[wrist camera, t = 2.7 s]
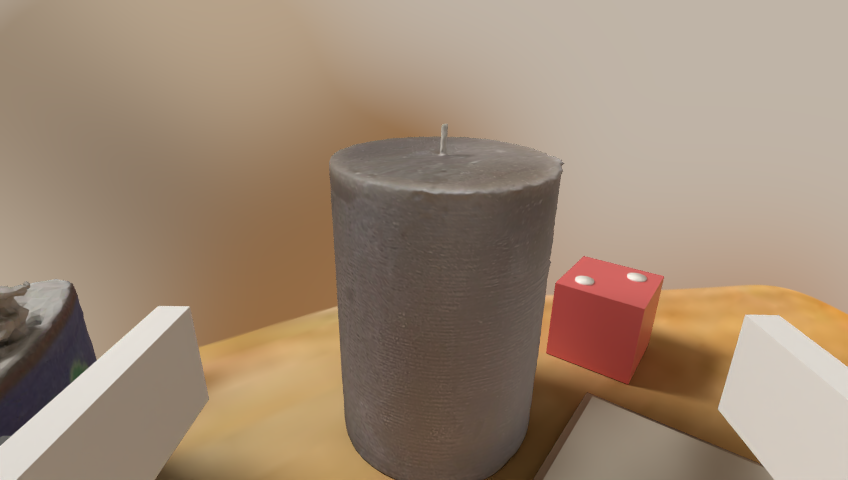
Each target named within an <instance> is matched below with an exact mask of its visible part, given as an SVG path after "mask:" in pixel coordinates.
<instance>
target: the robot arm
mask: <svg viewBox="0 0 848 480" xmlns="http://www.w3.org/2000/svg"><path fill="white" fill-rule="evenodd" d="M208 400H209V396H208V391H207V387H206V382H205V377H204V372H203V367H202V363H201V358H200V353H199V348H198V344H197V339H196V334H195V329H194V324H193V319H192V315H191V310H190V307H188V306H158V307H157V308H156V309H155V310H153V311H152V312H151V313H150V314H149V315H148V316H147V317H145V318H144V319H143V320H142V321H141V322H140V323H139V324H138V325H137V326H135V327H134V328H133V329H132V330H131V331H130V332H129V333H127V334H126V335H125V336H124V337H123V338H122V339H121V340H119V341H118V342H117V343H116V344H115V345H114V346H113V347H112V348H110V349H109V350H108V351H107V352H106V353H105V354H104V355H102V356H101V357H100V358H99V359H98V360H97V361H96V362H95V363H93V364H92V365H91V366H90V367H89V368H88V369H87V370H86V371H84V372H83V373H82V374H81V375H80V376H79V377H78V378H76V379H75V380H74V381H73V382H72V383H71V384H70V385H69V386H67V387H66V388H65V389H64V390H63V391H62V392H61V393H60V394H58V395H57V396H56V397H55V398H54V399H53V400H52V401H50V402H49V403H48V404H47V405H46V406H45V407H44V408H43V409H41V410H40V411H39V412H38V413H37V414H36V415H35V416H34V417H32V418H31V419H30V420H29V421H28V422H27V423H26V424H24V425H23V426H22V427H21V428H20V429H19V430H18V431H17V432H15V433H14V434H13V435H12V436H2V437H0V480H155V479H156V477H157V476H158V474H159V473H160V471H161V470H162V468H163V467H164V465H165V464H166V462H167V461H168V459H169V458H170V456H171V455H172V453H173V452H174V450H175V449H176V447H177V446H178V444H179V443H180V442H181V440H182V439H183V437H184V436H185V434H186V433H187V431H188V430H189V428H190V427H191V425H192V424H193V422H194V421H195V419H196V418H197V416H198V415H199V413H200V412H201V410H202V409H203V407H204V406H205V404H206V403H207V401H208ZM718 410H719V411H720V412H721V414H722V415H723V416H724V417H725V419H726V420H727V421H728V422H729V424H730V425H731V426H732V427H733V429H734V430H735V431H736V432H737V434H738V435H739V436H740V437H741V439H742V440H743V441H744V442H745V444H746V445H747V446H748V447H749V449H750V450H751V451H752V452H753V454H754V455H755V456H756V457H757V459H758V460H759V461H760V462H761V464H762V465H763V466H764V467H765V469H766V470H767V471H768V472H769V474H770V475H771V476H772V477H773V479H774V480H848V367H847V366H846V365H844V364H843V363H842V362H840V361H839V360H838V359H836V358H835V357H834V356H832V355H831V354H830V353H828V352H827V351H826V350H824V349H823V348H822V347H820V346H819V345H818V344H816V343H815V342H814V341H812V340H811V339H810V338H808V337H807V336H806V335H804V334H803V333H802V332H800V331H799V330H798V329H796V328H795V327H794V326H792V325H791V324H790V323H788V322H787V321H786V320H784V319H783V318H782V317H780V316H779V315H745V318H744V321H743V325H742V328H741V331H740V335H739V338H738V342H737V345H736V349H735V352H734V355H733V359H732V362H731V366H730V369H729V373H728V376H727V380H726V383H725V386H724V390H723V393H722V397H721V400H720V404H719V407H718Z"/></svg>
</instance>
